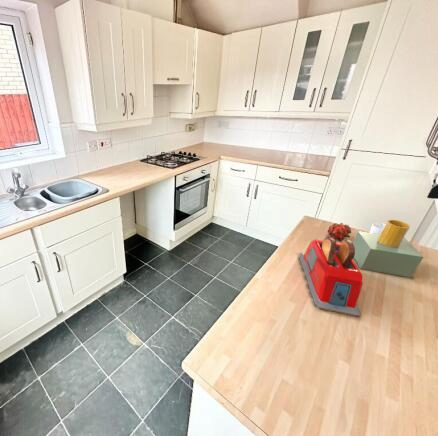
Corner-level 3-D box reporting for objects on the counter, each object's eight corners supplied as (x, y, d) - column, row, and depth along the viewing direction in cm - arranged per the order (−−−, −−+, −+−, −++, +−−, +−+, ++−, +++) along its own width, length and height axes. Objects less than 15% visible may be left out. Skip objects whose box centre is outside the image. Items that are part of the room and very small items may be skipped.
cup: (394, 240, 99) (404, 221, 95) (402, 248, 94) (413, 229, 90) (374, 237, 102) (384, 218, 97) (381, 245, 96) (392, 226, 92)
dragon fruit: (345, 238, 122) (328, 246, 119) (334, 224, 125) (317, 231, 122) (360, 232, 114) (342, 241, 111) (348, 217, 117) (330, 225, 114)
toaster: (361, 318, 78) (387, 274, 69) (315, 308, 82) (335, 265, 73) (331, 259, 105) (347, 222, 96) (297, 254, 109) (310, 217, 100)
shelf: (393, 256, 106) (404, 237, 101) (410, 277, 94) (423, 257, 90) (349, 249, 111) (358, 231, 106) (360, 268, 99) (370, 248, 95)
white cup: (369, 248, 111) (378, 230, 106) (360, 239, 118) (368, 221, 113) (389, 251, 109) (400, 232, 105) (379, 241, 116) (388, 223, 111)
